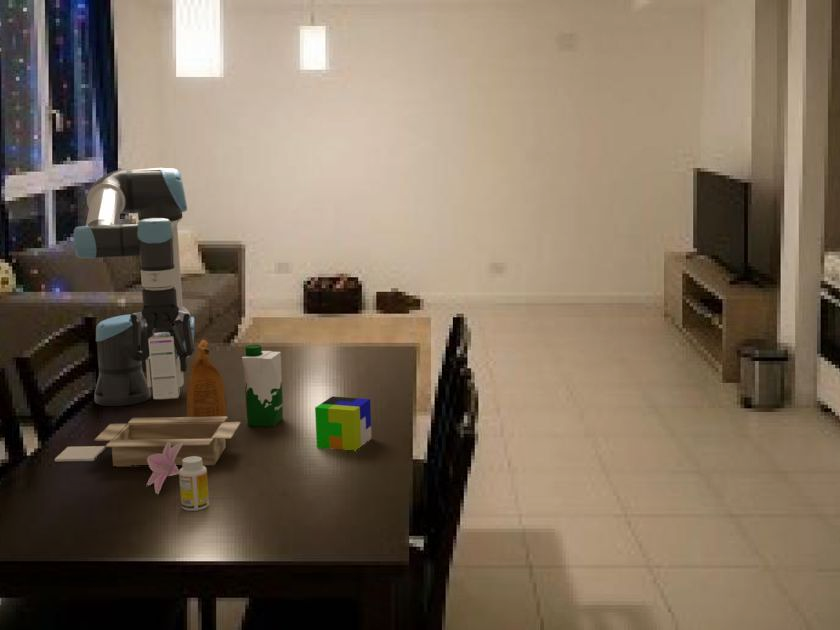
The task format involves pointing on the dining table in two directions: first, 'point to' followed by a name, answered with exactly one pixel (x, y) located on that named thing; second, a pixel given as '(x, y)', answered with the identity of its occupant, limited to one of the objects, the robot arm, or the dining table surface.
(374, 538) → the dining table surface
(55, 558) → the dining table surface
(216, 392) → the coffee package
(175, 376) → the syrup box
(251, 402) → the milk carton
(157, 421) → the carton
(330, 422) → the puzzle toy
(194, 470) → the supplement bottle
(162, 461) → the lily
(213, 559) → the dining table surface
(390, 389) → the dining table surface
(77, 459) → the plate
